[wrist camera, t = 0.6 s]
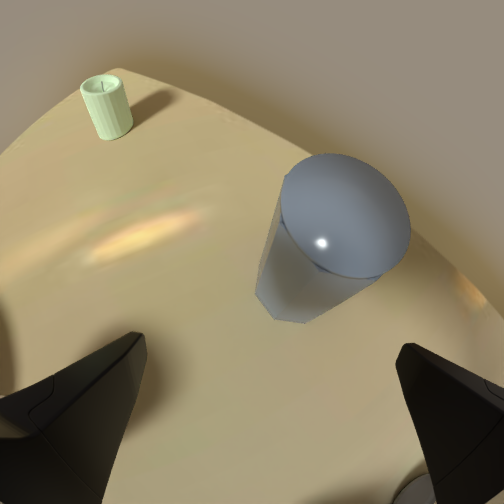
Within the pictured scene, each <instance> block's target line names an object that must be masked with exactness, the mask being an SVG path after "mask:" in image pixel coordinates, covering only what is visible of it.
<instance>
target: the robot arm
mask: <svg viewBox="0 0 504 504" xmlns="http://www.w3.org/2000/svg"><path fill="white" fill-rule="evenodd" d="M146 360H147V349H146V342H145V336H144V334H143V333H139V332H133V331H132V332H130V333H128V334H126V335H124V336H122V337H121V338H119V339H117V340H115V341H113V342H111V343H110V344H108V345H106V346H104V347H102V348H101V349H99V350H97V351H95V352H93V353H91V354H90V355H88V356H86V357H84V358H82V359H81V360H79V361H77V362H75V363H73V364H71V365H69V366H68V367H66V368H64V369H62V370H60V371H58V372H57V373H55V374H54V375H51V376H49V377H47V378H45V379H43V380H41V381H39V382H37V383H35V384H33V385H31V386H29V387H27V388H24V389H22V390H20V391H17V392H15V393H12V394H10V395H7V396H5V397H2V398H0V504H102V499H103V497H104V493H105V490H106V487H107V483H108V480H109V477H110V474H111V470H112V467H113V464H114V461H115V458H116V455H117V452H118V449H119V446H120V443H121V440H122V438H123V435H124V432H125V429H126V426H127V423H128V421H129V418H130V415H131V412H132V410H133V407H134V404H135V402H136V399H137V396H138V392H139V388H140V384H141V380H142V376H143V372H144V368H145V364H146ZM396 370H397V373H398V377H399V380H400V384H401V387H402V391H403V395H404V398H405V401H406V404H407V407H408V410H409V412H410V415H411V418H412V421H413V423H414V426H415V429H416V432H417V435H418V438H419V441H420V444H421V447H422V450H423V454H424V457H425V460H426V464H427V467H428V471H429V474H430V478H431V482H432V485H433V490H434V494H435V498H436V502H437V504H504V388H502V387H500V386H498V385H496V384H494V383H492V382H490V381H488V380H486V379H483V378H482V377H480V376H478V375H476V374H474V373H472V372H470V371H468V370H466V369H464V368H462V367H460V366H458V365H456V364H454V363H452V362H450V361H448V360H447V359H445V358H443V357H441V356H439V355H437V354H435V353H433V352H431V351H429V350H427V349H425V348H423V347H421V346H419V345H417V344H415V343H406V344H404V345H403V346H402V348H401V351H400V353H399V355H398V358H397V360H396Z"/></svg>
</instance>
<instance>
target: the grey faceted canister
mask: <svg viewBox="0 0 504 504" xmlns="http://www.w3.org/2000/svg"><path fill="white" fill-rule="evenodd" d="M410 233H411V228H410V220H409V215H408V212H407V209H406V206H405V204H404V201H403V199H402V198H401V196H400V195H399V193H398V191H397V190H396V188H395V187H394V186H393V185H392V183H391V182H390V181H389V180H388V179H387V178H386V177H385V176H384V175H383V174H381V173H380V172H379V171H378V170H376V169H375V168H373V167H372V166H370V165H369V164H367V163H365V162H363V161H361V160H358V159H356V158H353V157H350V156H346V155H342V154H318V155H314V156H311V157H308V158H306V159H304V160H302V161H301V162H299V163H298V164H297V165H295V166H294V167H293V168H292V169H291V171H290V172H289V173H288V174H287V175H285V177H284V180H283V184H282V187H281V191H280V195H279V198H278V202H277V205H276V209H275V212H274V216H273V219H272V223H271V226H270V230H269V233H268V237H267V240H266V243H265V247H264V250H263V254H262V257H261V261H260V264H259V270H258V277H257V283H256V289H255V295H256V296H257V297H258V299H259V300H260V301H261V303H262V304H263V305H264V307H265V308H266V309H267V311H268V312H269V313H270V315H271V316H272V317H273V319H276V320H282V321H289V322H297V323H304V324H305V323H307V322H309V321H311V320H312V319H314V318H316V317H318V316H319V315H321V314H323V313H325V312H326V311H328V310H330V309H332V308H333V307H335V306H337V305H338V304H340V303H342V302H343V301H345V300H347V299H348V298H350V297H352V296H353V295H355V294H356V293H358V292H360V291H361V290H363V289H364V288H366V287H368V286H369V285H371V284H372V283H374V282H375V281H376V280H378V279H379V278H380V277H381V276H382V275H383V274H384V273H386V272H387V271H389V270H390V269H392V268H393V267H394V266H395V265H397V264H398V263H399V262H400V260H401V259H402V258H403V256H404V254H405V253H406V251H407V248H408V245H409V241H410Z"/></svg>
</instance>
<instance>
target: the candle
mask: <svg viewBox="0 0 504 504" xmlns="http://www.w3.org/2000/svg"><path fill="white" fill-rule="evenodd" d="M80 90H81V93H82V96H83V98H84V101H85V103H86V106H87V108H88V111H89V113H90V116H91V118H92V121H93V123H94V125H95V128H96V130H97V132H98V135H99V137H100V138H101V139H103V140H114V139H117V138H119V137H121V136H123V135H124V134H126V133H127V132H128V131H129V130H130V129H131V127H132V126H133V118H132V114H131V111H130V107H129V104H128V100H127V97H126V93H125V89H124V86H123V82H122V80H121V79H120V78H119V77H117V76H115V75H98V76H94V77H91V78H89V79H87V80H86V81H84V82H83V83H82V85H81V86H80Z"/></svg>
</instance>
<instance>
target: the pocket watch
mask: <svg viewBox="0 0 504 504" xmlns="http://www.w3.org/2000/svg"><path fill="white" fill-rule="evenodd" d="M435 501H436V498H435V494H434V490H433V485H432V482H431V478H430V474H425V475H422V476H420V477H418V478H416V479H415V480H413V481H412V482H411V483H409V484H408V485H407V486H406V487H405V488H404V489H403V490H402V491H401V493H400V494H399V495H398V497H397V498H396V499H395V501H394V504H434V503H435Z"/></svg>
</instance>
